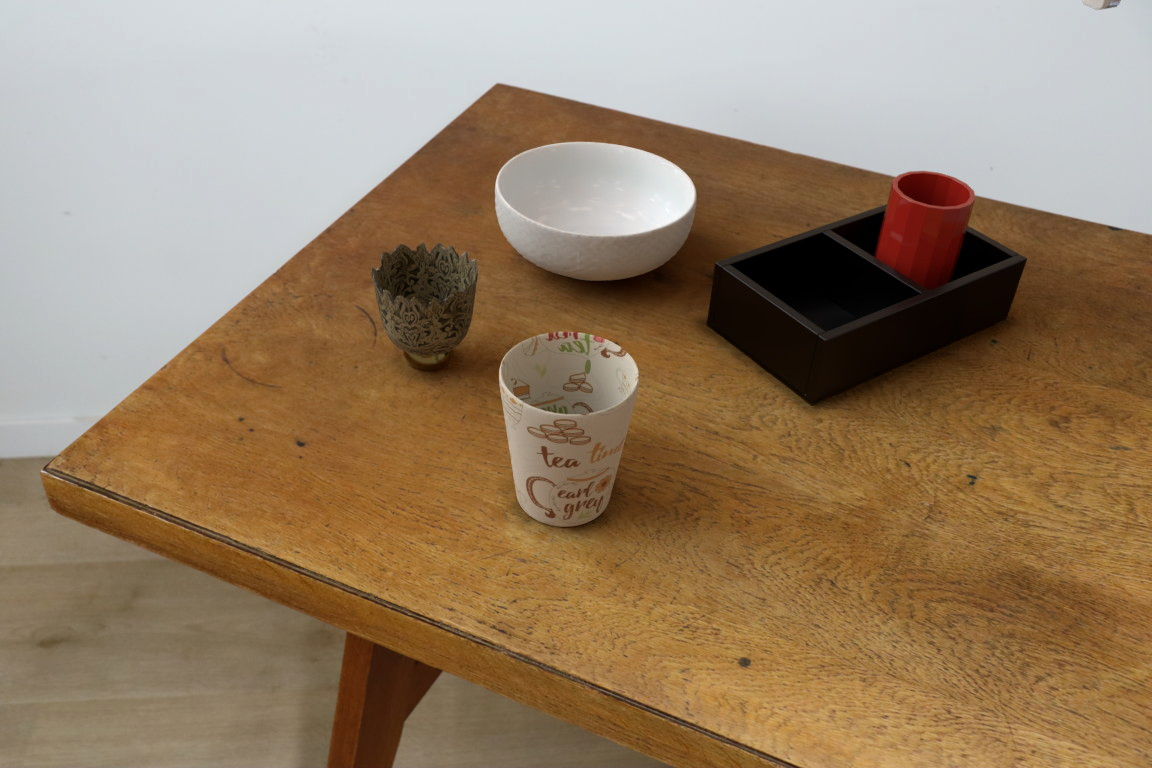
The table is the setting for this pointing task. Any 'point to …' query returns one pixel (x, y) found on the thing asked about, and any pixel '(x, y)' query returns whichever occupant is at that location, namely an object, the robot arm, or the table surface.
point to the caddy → (852, 304)
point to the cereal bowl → (594, 209)
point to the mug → (566, 422)
